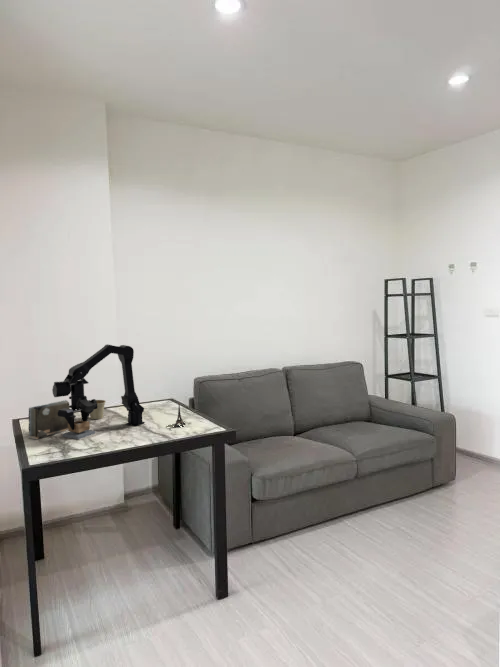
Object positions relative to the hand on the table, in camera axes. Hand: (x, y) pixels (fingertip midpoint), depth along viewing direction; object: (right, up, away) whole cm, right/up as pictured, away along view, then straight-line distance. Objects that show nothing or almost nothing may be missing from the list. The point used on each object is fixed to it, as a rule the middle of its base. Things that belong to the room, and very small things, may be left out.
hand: (78, 427), depth 219 cm
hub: (0, -4, 0) cm, 4 cm away
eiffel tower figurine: (+44, -3, +15) cm, 47 cm away
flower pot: (-1, -1, +30) cm, 30 cm away
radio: (-15, -4, +4) cm, 16 cm away
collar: (0, -1, 0) cm, 1 cm away
